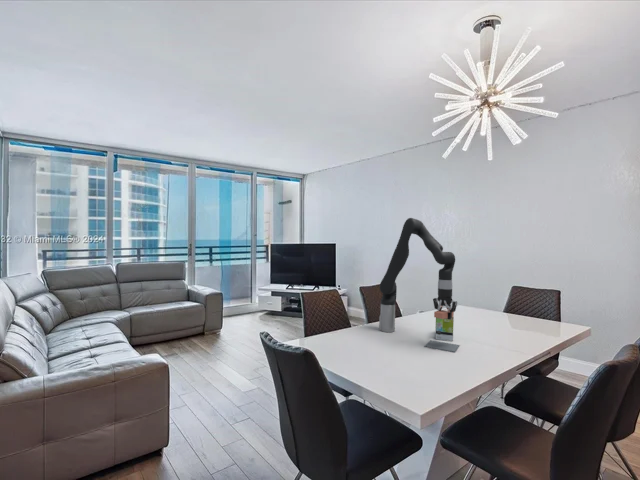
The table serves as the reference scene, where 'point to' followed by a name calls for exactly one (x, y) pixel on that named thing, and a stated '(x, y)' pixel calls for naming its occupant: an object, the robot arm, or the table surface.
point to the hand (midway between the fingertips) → (444, 318)
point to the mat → (442, 346)
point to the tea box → (444, 329)
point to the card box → (442, 314)
